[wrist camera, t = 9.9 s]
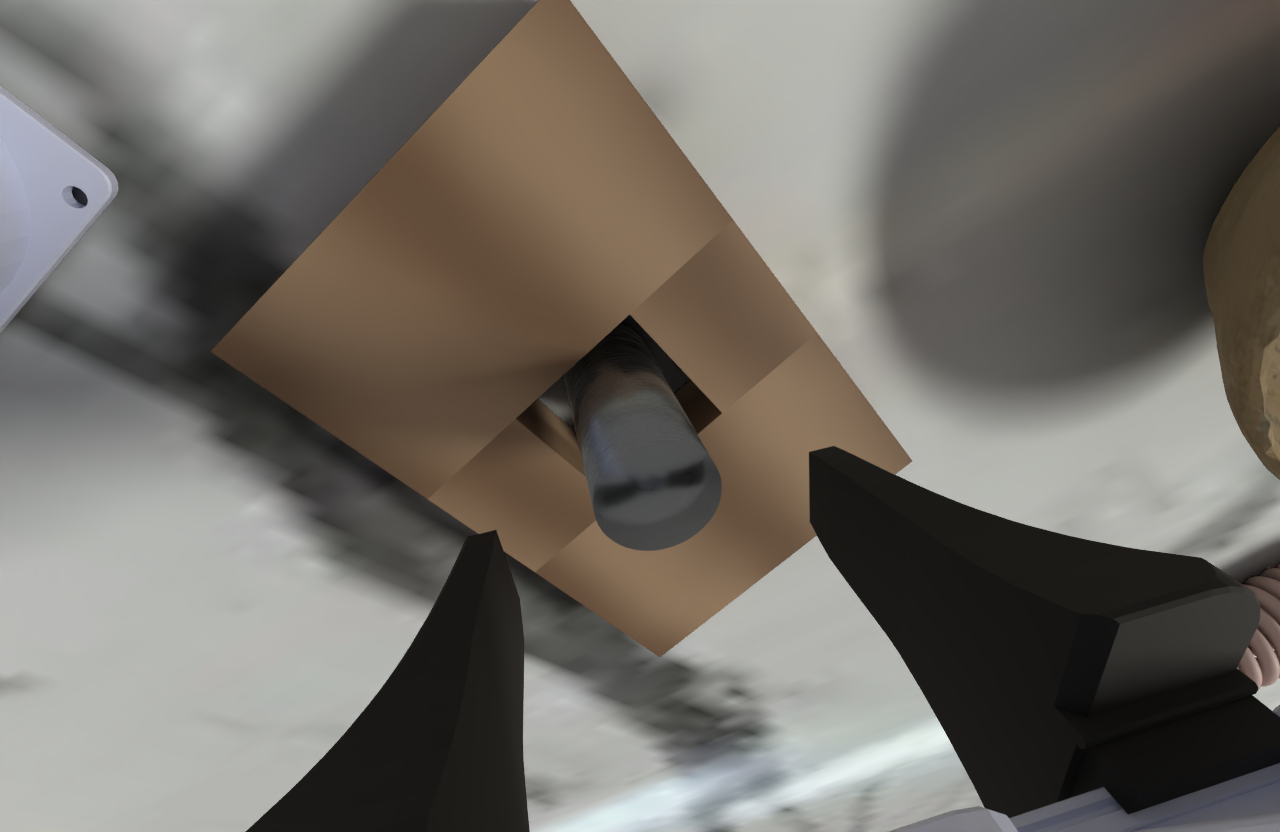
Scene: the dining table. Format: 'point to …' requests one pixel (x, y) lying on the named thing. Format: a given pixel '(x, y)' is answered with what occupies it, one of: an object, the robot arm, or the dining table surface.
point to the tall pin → (639, 447)
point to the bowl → (1250, 300)
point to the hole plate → (558, 330)
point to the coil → (1264, 631)
